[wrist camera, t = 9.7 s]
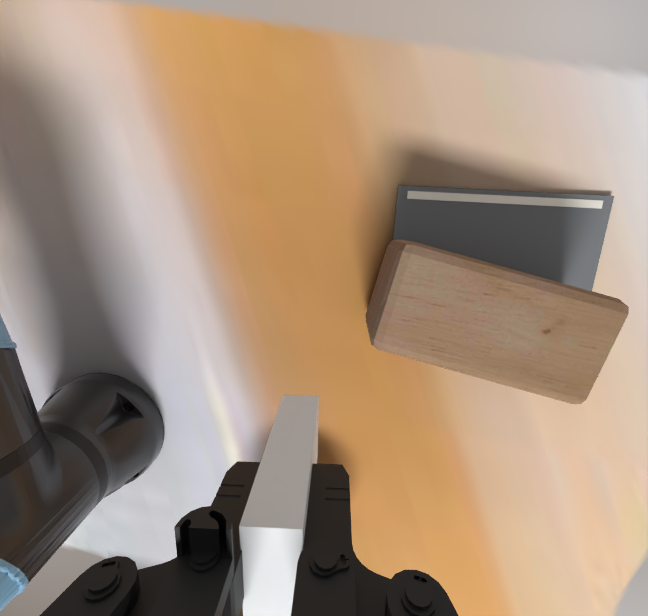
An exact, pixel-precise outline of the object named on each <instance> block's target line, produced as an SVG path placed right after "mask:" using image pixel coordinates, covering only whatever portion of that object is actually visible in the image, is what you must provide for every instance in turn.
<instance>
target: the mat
mask: <svg viewBox="0 0 648 616" xmlns="http://www.w3.org/2000/svg"><path fill="white" fill-rule="evenodd" d="M613 198H614V196H603V195H583V194H563V193H542V192H522V191H501V190H481V189H461V188H440V187H420V186H400V185H399V186H398V192H397V203H396V213H395V223H394V233H393V240H397V239H400V240H407V241H413V242H417V243H420V244H424V245H428V246H431V247H435V248H438V249H442V250H445V251H449V252H453V253H456V254H460V255H463V256H467V257H470V258H474V259H478V260H481V261H485V262H488V263H492V264H495V265H499V266H503V267H506V268H510V269H513V270H517V271H521V272H524V273H528V274H531V275H535V276H538V277H542V278H546V279H549V280H553V281H556V282H560V283H563V284H567V285H571V286H574V287H578V288H581V289H585V290H588V291H592V288H593V283H594V279H595V275H596V271H597V266H598V262H599V258H600V254H601V249H602V245H603V241H604V237H605V232H606V228H607V224H608V220H609V215H610V211H611V207H612V203H613Z"/></svg>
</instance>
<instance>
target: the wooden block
mask: <svg viewBox="0 0 648 616" xmlns="http://www.w3.org/2000/svg"><path fill="white" fill-rule="evenodd" d="M628 308H629V307H628V306H627V305H625V304H624V303H623V302H622V301H621V300H619V299H617V298H613V297H610V296H606V295H603V294H599V293H596V292H592V291H588V290H585V289H581V288H578V287H574V286H571V285H567V284H563V283H560V282H556V281H553V280H549V279H546V278H542V277H538V276H535V275H531V274H528V273H524V272H521V271H517V270H513V269H510V268H506V267H503V266H499V265H495V264H492V263H488V262H485V261H481V260H478V259H474V258H470V257H467V256H463V255H460V254H456V253H453V252H449V251H445V250H442V249H438V248H435V247H431V246H428V245H424V244H420V243H417V242H413V241H407V240H400V239H397V240H392V241H391V242H390V243H389V244H388V245H387V248H386V251H385V254H384V258H383V261H382V264H381V267H380V271H379V274H378V277H377V280H376V283H375V287H374V290H373V293H372V296H371V300H370V303H369V306H368V309H367V312H366V323H367V327H368V332H369V336H370V341H371V345H373V346H374V347H375V348H377V349H378V350H381V351H385V352H388V353H392V354H396V355H399V356H403V357H406V358H410V359H413V360H417V361H421V362H424V363H428V364H431V365H435V366H438V367H442V368H446V369H449V370H453V371H456V372H460V373H463V374H467V375H471V376H474V377H478V378H481V379H485V380H488V381H492V382H496V383H499V384H503V385H506V386H510V387H513V388H517V389H521V390H524V391H528V392H531V393H535V394H538V395H542V396H546V397H549V398H553V399H556V400H560V401H563V402H567V403H572V404H581V403H583V402H584V401H585V400H586V399H587V397H588V395H589V393H590V391H591V389H592V387H593V385H594V383H595V381H596V379H597V377H598V375H599V373H600V370H601V368H602V366H603V364H604V362H605V360H606V358H607V356H608V354H609V352H610V350H611V348H612V346H613V344H614V342H615V340H616V338H617V336H618V334H619V332H620V330H621V328H622V326H623V324H624V322H625V320H626V318H627V316H628Z"/></svg>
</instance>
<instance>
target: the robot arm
mask: <svg viewBox="0 0 648 616" xmlns="http://www.w3.org/2000/svg"><path fill="white" fill-rule="evenodd" d="M15 348H17V346H16V343H15V342H12V340H11V337H10V335H9V333H8V331H7V328H6V326H5V324H4V322H3V319H2V317H1V315H0V611H1V610H2V609H3V608H4V607H5V606H6V605H7V604H8V603H9V602H10V601H11V600H12V599H13V598H14V597H15V596H16V595H18V594H20V593H21V592H22V591H23V590H24V589H25V587H26V586H27V584H28V583H29V582H30V581H31V579H32V578H33V577H34V576H35V575H36V574H37V573H38V571H39V570H40V569H41V568H42V567H43V566H44V565H45V563H46V562H47V561H48V560H49V559H50V558H51V557H52V555H53V554H54V553H55V552H56V551H57V550H58V549H59V547H60V546H61V545H62V544H63V543H64V542H65V541H66V539H67V538H68V537H69V536H70V535H71V534H72V533H73V531H74V530H75V529H76V528H77V527H78V526H79V525H80V523H81V522H82V521H83V520H84V519H85V518H86V517H87V515H88V514H89V513H90V512H91V511H92V509H93V508H94V507H95V506H96V505H97V504H98V503H99V502H100V501H101V500H102V499H103V498H105V497H106V496H108V495H110V494H111V493H113V492H115V491H116V490H118V489H119V488H121V487H122V486H123V485H125V484H127V483H129V482H131V481H133V480H135V479H136V478H138V477H139V476H140V475H141V474H143V473H144V472H145V471H146V470H147V468H148V467H149V466H150V465H151V464H152V462H153V461H154V460H155V459H156V457H157V456H158V454H159V452H160V450H161V448H162V444H163V439H164V428H163V423H162V419H161V416H160V414H159V411H158V409H157V407H156V406H155V404H154V403H153V401H152V400H151V399H150V398H149V396H148V395H147V394H146V393H145V392H144V391H142V390H141V389H140V388H139V387H137V386H136V385H135V384H133V383H131V382H130V381H128V380H126V379H123V378H121V377H118V376H114V375H110V374H103V373H94V374H87V375H83V376H80V377H78V378H76V379H74V380H72V381H70V382H69V383H67V384H65V385H63V386H62V387H60V388H59V389H57V390H56V391H55V392H54V393H53V394H52V395H51V396H50V397H49V398H48V399H47V400H46V402H45V403H44V405H43V407H42V408H41V410H40V411H39V412H38V413H37V410H36V407H35V405H34V402H33V399H32V396H31V394H30V391H29V388H28V385H27V382H26V380H25V377H24V374H23V371H22V368H21V365H20V362H19V359H18V356H17V353H16V350H15ZM318 404H319V396H300V395H283V396H282V399H281V402H280V405H279V408H278V411H277V414H276V417H275V420H274V423H273V426H272V429H271V432H270V435H269V438H268V441H267V444H266V447H265V450H264V453H263V456H262V459H261V462H237V463H235V464H234V465H233V466H232V467H231V468H230V469H229V470H228V471H227V472H226V474H225V477H224V479H223V481H222V483H221V487H219V490H218V492H217V494H216V497H215V498H214V501H213V503H212V505H211V506H208V507H201V508H199V509H196V510H193V511H191V512H190V513H188V514H187V515H185V516H184V517H183V518H181V519H180V521H179V522H178V523H177V525H176V526H175V538H176V548H177V557H176V558H175V559H173V560H171V561H168V562H165V563H163V564H159V565H155V566H151V567H147V568H143V569H139V570H137V567H136V564H135V562H134V561H133V560H131V559H130V558H128V557H121V556H116V557H112V558H108V559H104V560H102V561H100V562H98V563H96V564H94V565H93V566H91V567H90V568H89V569H87V570H86V571H85V572H84V573H82V574H81V575H80V576H79V577H78V578H77V579H76V580H75V581H74V582H73V583H72V584H71V585H70V586H69V587H68V588H67V589H66V590H65V591H64V592H63V593H62V594H61V595H60V596H59V597H58V598H57V599H56V600H55V601H54V602H53V603H52V604H51V605H50V606H49V607H48V608H47V609H46V610H45V611H44V612H43V613H42V614H41V615H40V616H239V615H240V611H241V607H242V603H243V616H458V614H457V612H456V610H455V608H454V606H453V604H452V603H451V601H450V599H449V597H448V595H447V593H446V592H445V590H444V589H443V588H442V586H441V585H440V584H439V582H437V581H436V580H435V579H433V578H432V577H431V576H429V575H428V574H426V573H423V572H420V571H418V570H404V571H401V572H399V573H396V574H395V575H394V576H393V578H392V579H389V578H386V577H384V576H381V575H378V574H376V573H374V572H372V571H370V570H369V569H367V568H366V567H365V566H364V565H362V564H361V562H360V561H359V560H358V558H357V557H356V555H355V553H354V551H353V547H352V536H351V512H350V491H349V475H348V473H347V472H346V470H345V468H344V467H343V465H337V464H317V457H318Z"/></svg>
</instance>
